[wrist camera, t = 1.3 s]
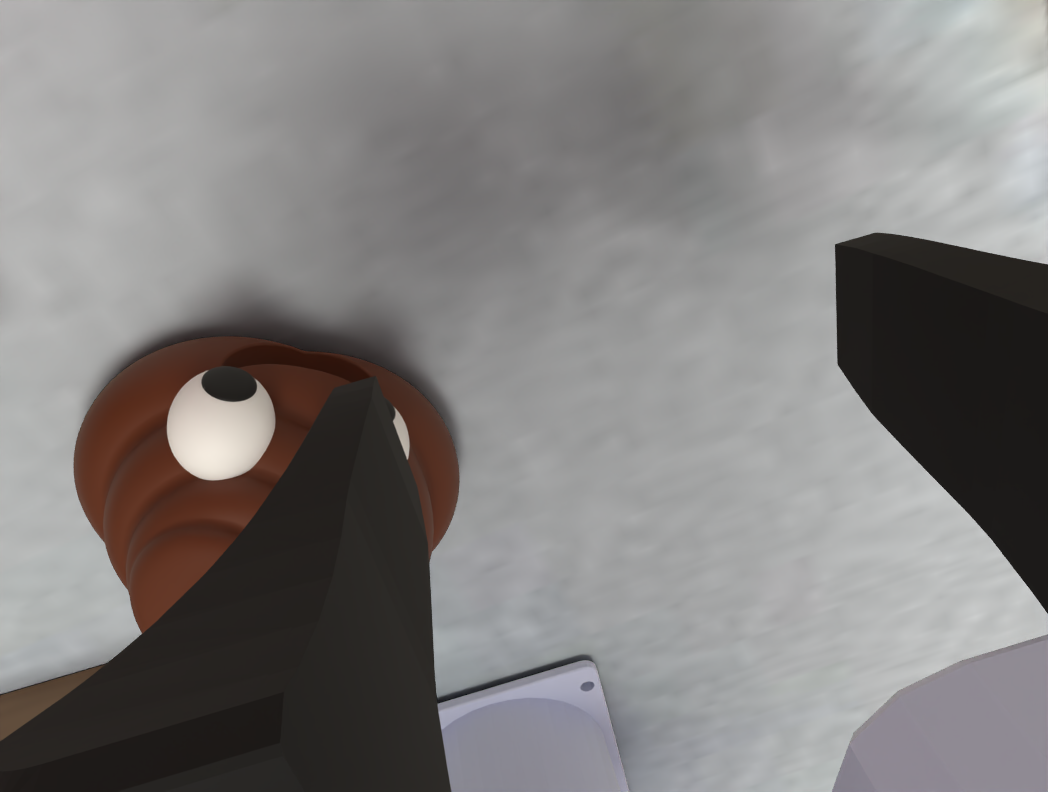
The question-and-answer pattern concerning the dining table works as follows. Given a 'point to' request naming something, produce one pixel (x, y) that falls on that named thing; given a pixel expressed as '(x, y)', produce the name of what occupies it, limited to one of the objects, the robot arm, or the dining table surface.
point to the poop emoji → (224, 453)
